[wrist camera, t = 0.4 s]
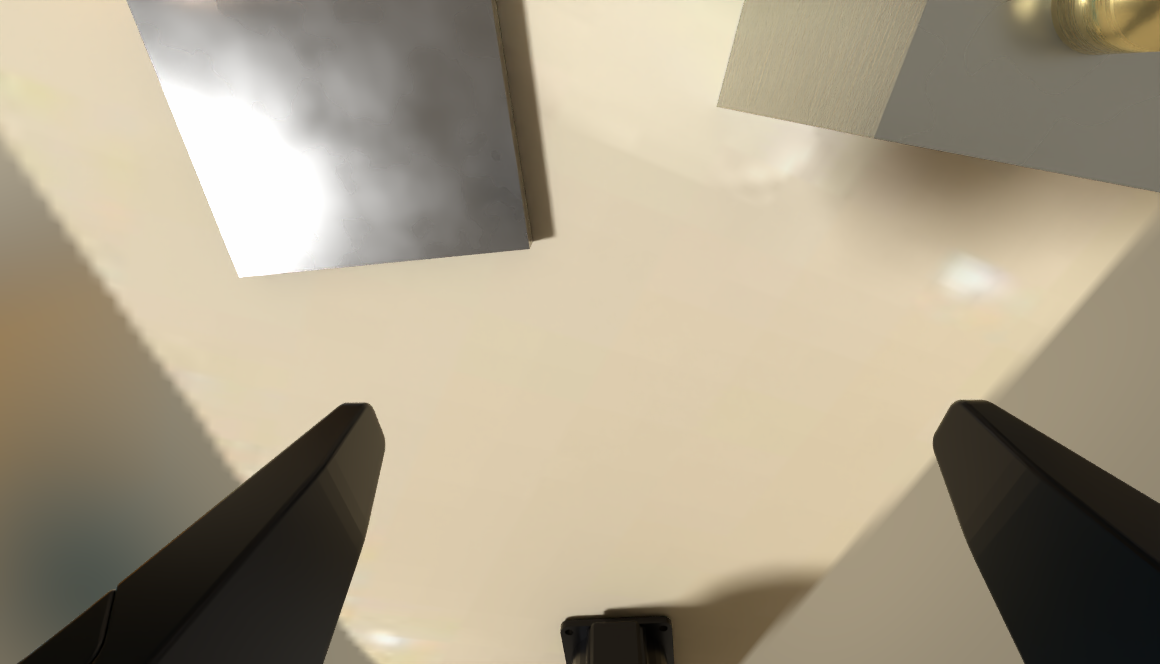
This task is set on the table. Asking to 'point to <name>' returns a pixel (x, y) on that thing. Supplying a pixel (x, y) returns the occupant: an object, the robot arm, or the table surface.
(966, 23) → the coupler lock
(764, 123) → the table surface
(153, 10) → the coupler plate
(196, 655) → the robot arm
